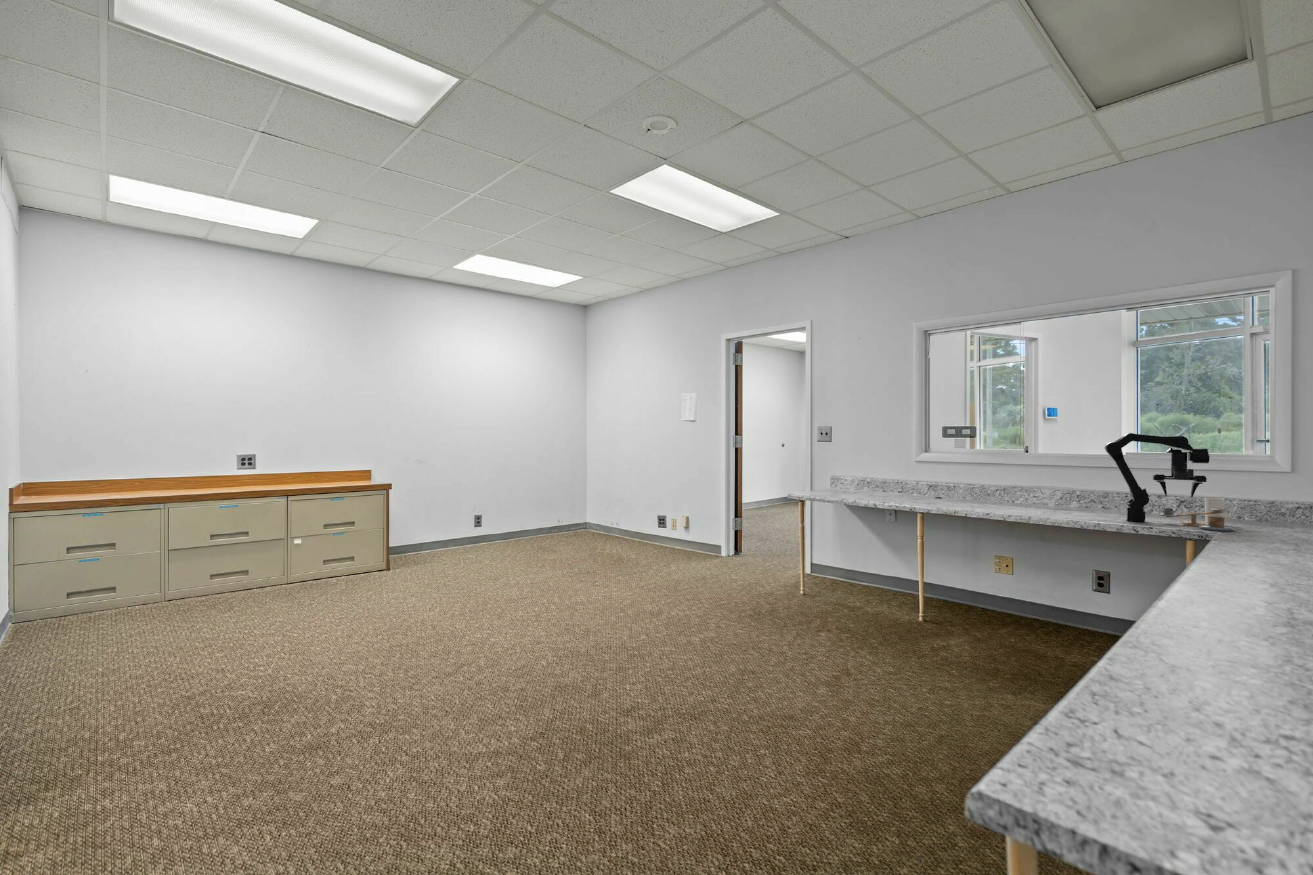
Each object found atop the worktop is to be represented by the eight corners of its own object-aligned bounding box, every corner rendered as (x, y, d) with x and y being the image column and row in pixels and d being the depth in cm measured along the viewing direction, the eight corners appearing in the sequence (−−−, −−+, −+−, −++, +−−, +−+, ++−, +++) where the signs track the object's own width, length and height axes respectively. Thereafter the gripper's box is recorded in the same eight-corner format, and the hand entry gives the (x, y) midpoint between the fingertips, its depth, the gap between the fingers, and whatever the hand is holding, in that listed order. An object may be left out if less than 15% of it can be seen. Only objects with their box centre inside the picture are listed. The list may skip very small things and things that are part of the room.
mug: (1205, 524, 288) (1205, 498, 288) (1203, 523, 293) (1203, 497, 293) (1235, 526, 282) (1235, 499, 282) (1232, 524, 287) (1233, 498, 287)
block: (1210, 527, 272) (1210, 516, 272) (1208, 525, 276) (1208, 515, 276) (1224, 528, 270) (1224, 517, 270) (1221, 526, 274) (1222, 516, 274)
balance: (1160, 523, 290) (1160, 507, 290) (1159, 522, 295) (1159, 505, 295) (1230, 528, 277) (1230, 510, 277) (1227, 526, 282) (1227, 509, 282)
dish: (1202, 530, 271) (1202, 527, 271) (1197, 527, 280) (1197, 524, 280) (1236, 532, 265) (1236, 529, 265) (1230, 529, 274) (1230, 526, 274)
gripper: (1155, 462, 289) (1155, 496, 290) (1208, 464, 279) (1208, 499, 279) (1152, 462, 299) (1152, 494, 299) (1204, 463, 288) (1204, 497, 289)
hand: (1178, 496), depth 291 cm, fingers open, 9 cm apart
